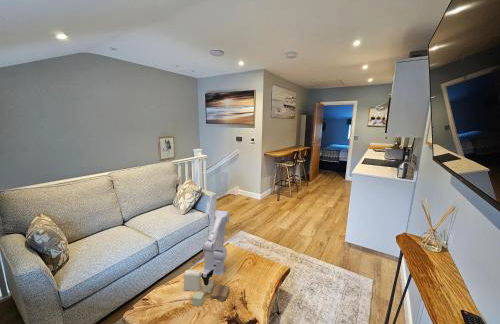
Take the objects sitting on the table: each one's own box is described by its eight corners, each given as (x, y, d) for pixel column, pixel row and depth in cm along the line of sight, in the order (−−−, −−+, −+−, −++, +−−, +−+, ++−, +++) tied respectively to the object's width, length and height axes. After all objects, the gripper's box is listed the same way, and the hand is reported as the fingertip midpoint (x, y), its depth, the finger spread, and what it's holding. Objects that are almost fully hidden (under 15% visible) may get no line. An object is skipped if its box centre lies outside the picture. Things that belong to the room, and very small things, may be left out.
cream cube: (202, 292, 125) (203, 284, 124) (205, 286, 130) (205, 279, 129) (210, 293, 124) (210, 285, 124) (213, 287, 129) (213, 280, 129)
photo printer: (183, 290, 125) (183, 272, 124) (185, 285, 130) (185, 267, 128) (199, 291, 125) (200, 272, 124) (201, 286, 130) (201, 268, 128)
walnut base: (210, 300, 119) (210, 295, 119) (215, 289, 128) (215, 284, 128) (225, 301, 118) (225, 296, 117) (229, 290, 127) (229, 286, 126)
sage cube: (192, 305, 114) (192, 297, 114) (195, 299, 119) (196, 291, 119) (200, 307, 114) (200, 299, 113) (203, 300, 119) (204, 292, 118)
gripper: (211, 267, 117) (210, 289, 119) (218, 254, 132) (217, 274, 133) (199, 266, 118) (199, 288, 120) (208, 253, 133) (207, 272, 134)
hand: (208, 280), depth 126 cm, fingers open, 7 cm apart
